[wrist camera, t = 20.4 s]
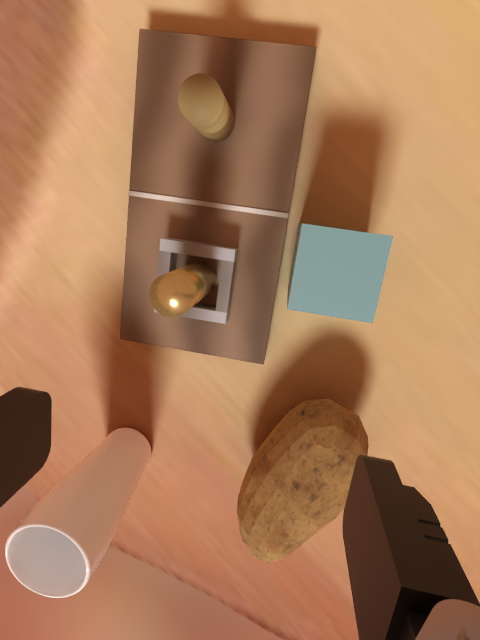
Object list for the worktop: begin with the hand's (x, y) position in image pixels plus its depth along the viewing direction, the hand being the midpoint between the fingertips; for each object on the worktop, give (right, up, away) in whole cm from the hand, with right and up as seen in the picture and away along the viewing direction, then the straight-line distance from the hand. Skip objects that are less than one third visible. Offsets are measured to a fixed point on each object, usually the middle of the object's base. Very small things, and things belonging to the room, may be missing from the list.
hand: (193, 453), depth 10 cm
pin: (-2, +7, +25) cm, 26 cm away
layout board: (-1, +13, +25) cm, 29 cm away
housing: (+9, +9, +25) cm, 28 cm away
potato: (+7, -10, +30) cm, 32 cm away
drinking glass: (-11, -11, +33) cm, 36 cm away
